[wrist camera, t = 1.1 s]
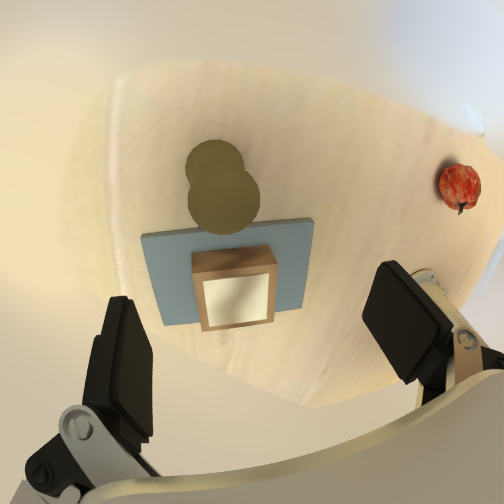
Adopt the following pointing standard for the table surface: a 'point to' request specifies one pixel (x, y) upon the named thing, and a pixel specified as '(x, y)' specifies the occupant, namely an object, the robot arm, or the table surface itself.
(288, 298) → the board
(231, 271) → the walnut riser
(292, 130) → the table surface
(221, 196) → the cork
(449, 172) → the pomegranate
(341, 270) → the table surface
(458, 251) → the table surface
